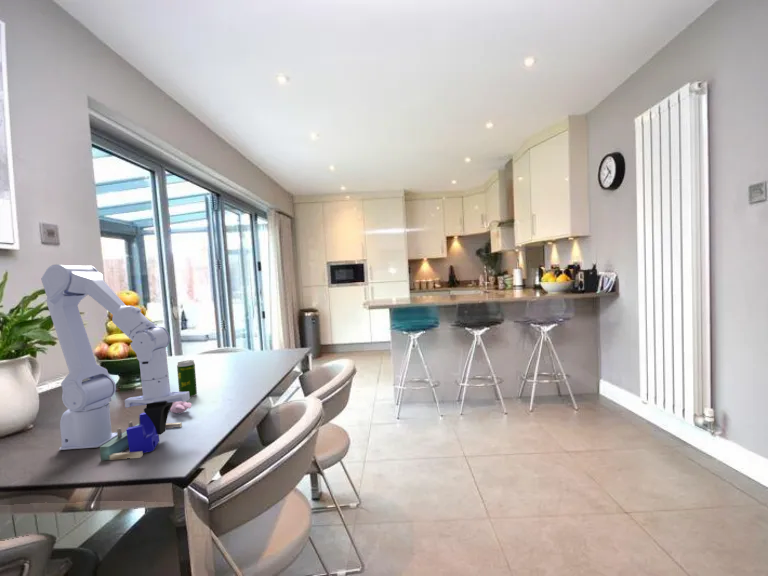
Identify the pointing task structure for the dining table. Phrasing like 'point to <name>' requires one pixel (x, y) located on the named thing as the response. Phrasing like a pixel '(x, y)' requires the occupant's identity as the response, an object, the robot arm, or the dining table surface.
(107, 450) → the pin bay
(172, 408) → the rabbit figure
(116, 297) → the robot arm
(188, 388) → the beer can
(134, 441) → the cable clip
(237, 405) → the dining table surface
